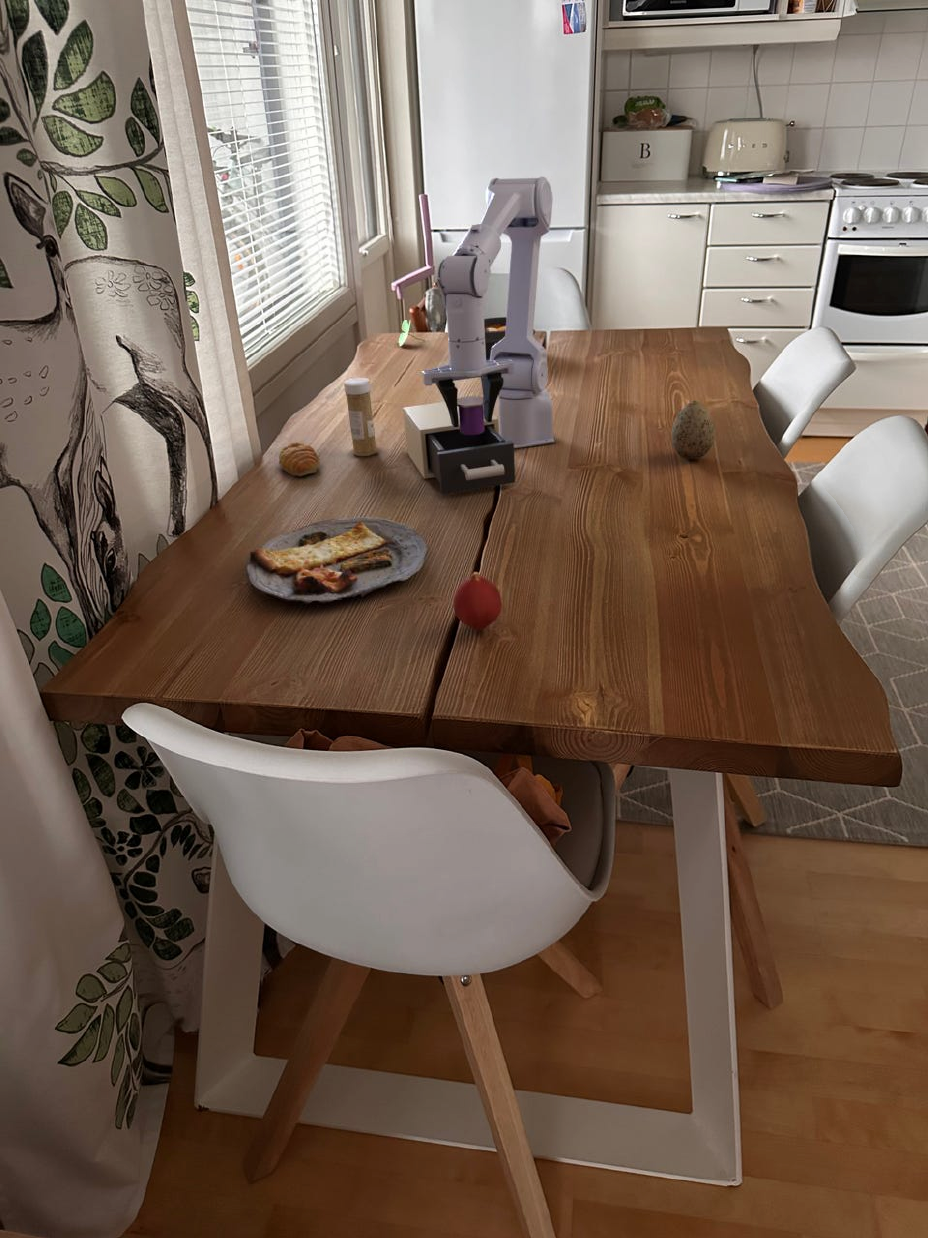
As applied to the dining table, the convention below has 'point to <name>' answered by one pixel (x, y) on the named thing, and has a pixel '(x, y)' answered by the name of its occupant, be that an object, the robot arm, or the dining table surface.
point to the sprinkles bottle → (360, 416)
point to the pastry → (299, 459)
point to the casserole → (496, 335)
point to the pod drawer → (470, 460)
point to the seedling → (405, 328)
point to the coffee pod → (471, 414)
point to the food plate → (336, 559)
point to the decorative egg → (693, 431)
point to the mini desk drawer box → (429, 430)
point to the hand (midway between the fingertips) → (471, 422)
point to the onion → (477, 602)
